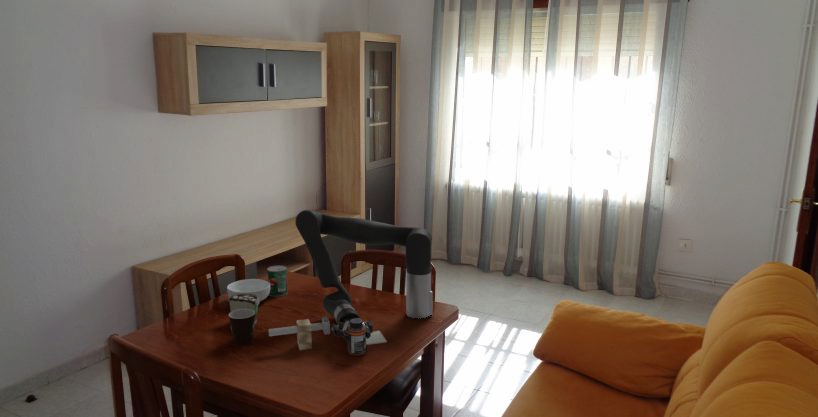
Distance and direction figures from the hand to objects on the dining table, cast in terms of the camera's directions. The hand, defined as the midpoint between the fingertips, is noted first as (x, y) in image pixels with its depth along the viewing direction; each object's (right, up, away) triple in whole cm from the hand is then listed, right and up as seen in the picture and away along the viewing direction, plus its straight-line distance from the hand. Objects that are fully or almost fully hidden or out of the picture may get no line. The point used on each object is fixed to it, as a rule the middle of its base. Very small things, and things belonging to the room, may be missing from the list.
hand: (358, 337), depth 192 cm
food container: (-43, 0, +29) cm, 52 cm away
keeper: (-19, -5, +8) cm, 21 cm away
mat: (+3, -4, +14) cm, 15 cm away
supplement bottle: (-1, -6, +4) cm, 7 cm away
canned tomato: (-38, +6, +57) cm, 69 cm away
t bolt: (-20, -1, +7) cm, 21 cm away
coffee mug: (-40, -4, +13) cm, 42 cm away
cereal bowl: (-48, +4, +48) cm, 68 cm away
